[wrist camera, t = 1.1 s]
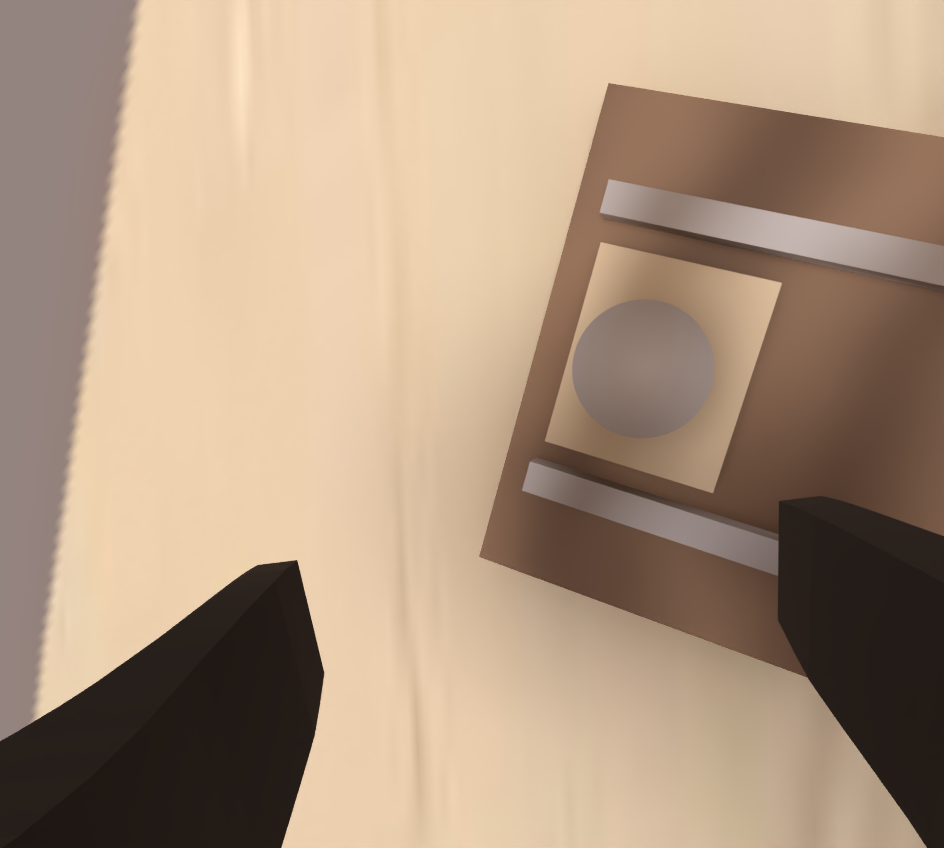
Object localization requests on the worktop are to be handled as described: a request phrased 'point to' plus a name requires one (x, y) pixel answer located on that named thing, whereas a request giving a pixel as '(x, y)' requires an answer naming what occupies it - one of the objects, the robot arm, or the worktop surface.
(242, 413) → the worktop surface
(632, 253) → the press ram
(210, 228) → the worktop surface
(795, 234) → the board
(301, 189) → the worktop surface
